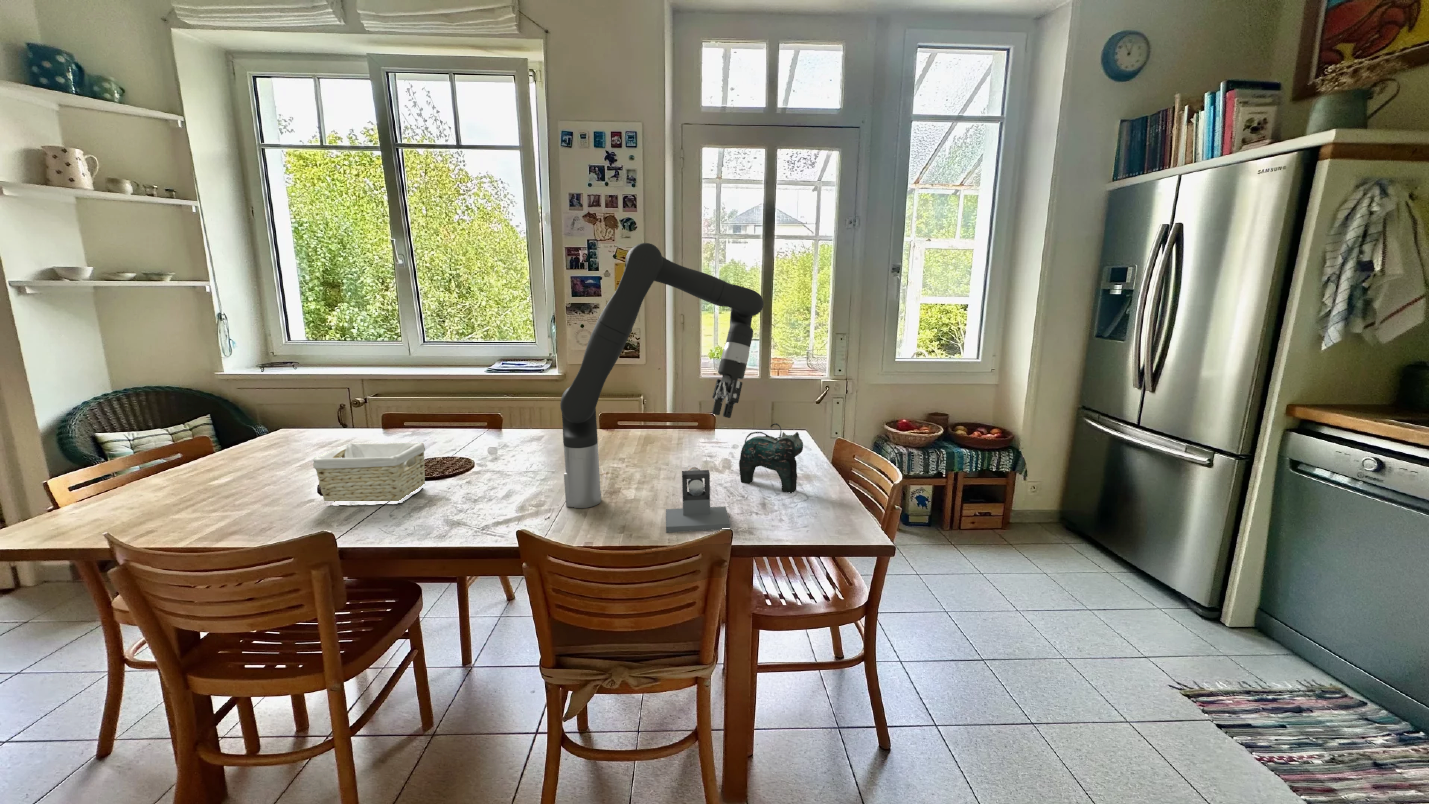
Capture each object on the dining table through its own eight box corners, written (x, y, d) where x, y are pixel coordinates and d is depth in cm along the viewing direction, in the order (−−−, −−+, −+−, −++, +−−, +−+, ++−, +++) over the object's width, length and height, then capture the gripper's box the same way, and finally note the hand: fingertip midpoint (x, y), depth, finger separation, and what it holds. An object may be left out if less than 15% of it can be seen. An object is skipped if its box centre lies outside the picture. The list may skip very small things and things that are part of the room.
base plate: (666, 532, 133) (665, 511, 132) (665, 514, 144) (665, 494, 143) (730, 529, 134) (730, 508, 133) (725, 511, 145) (725, 492, 144)
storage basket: (316, 508, 150) (308, 458, 147) (354, 487, 166) (347, 441, 163) (402, 507, 150) (395, 457, 147) (432, 487, 166) (426, 441, 163)
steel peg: (688, 496, 137) (688, 481, 137) (687, 481, 148) (686, 467, 147) (704, 495, 138) (704, 480, 137) (701, 480, 149) (701, 467, 148)
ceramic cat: (803, 490, 160) (804, 425, 156) (793, 497, 155) (795, 429, 151) (745, 477, 171) (746, 416, 167) (735, 484, 166) (734, 420, 162)
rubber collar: (682, 500, 139) (682, 474, 137) (682, 496, 142) (681, 470, 140) (710, 499, 139) (709, 473, 138) (709, 495, 142) (708, 469, 141)
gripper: (713, 357, 158) (700, 411, 158) (731, 356, 145) (717, 415, 145) (736, 363, 161) (723, 416, 160) (756, 363, 148) (742, 421, 147)
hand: (720, 416), depth 153 cm, fingers open, 8 cm apart
